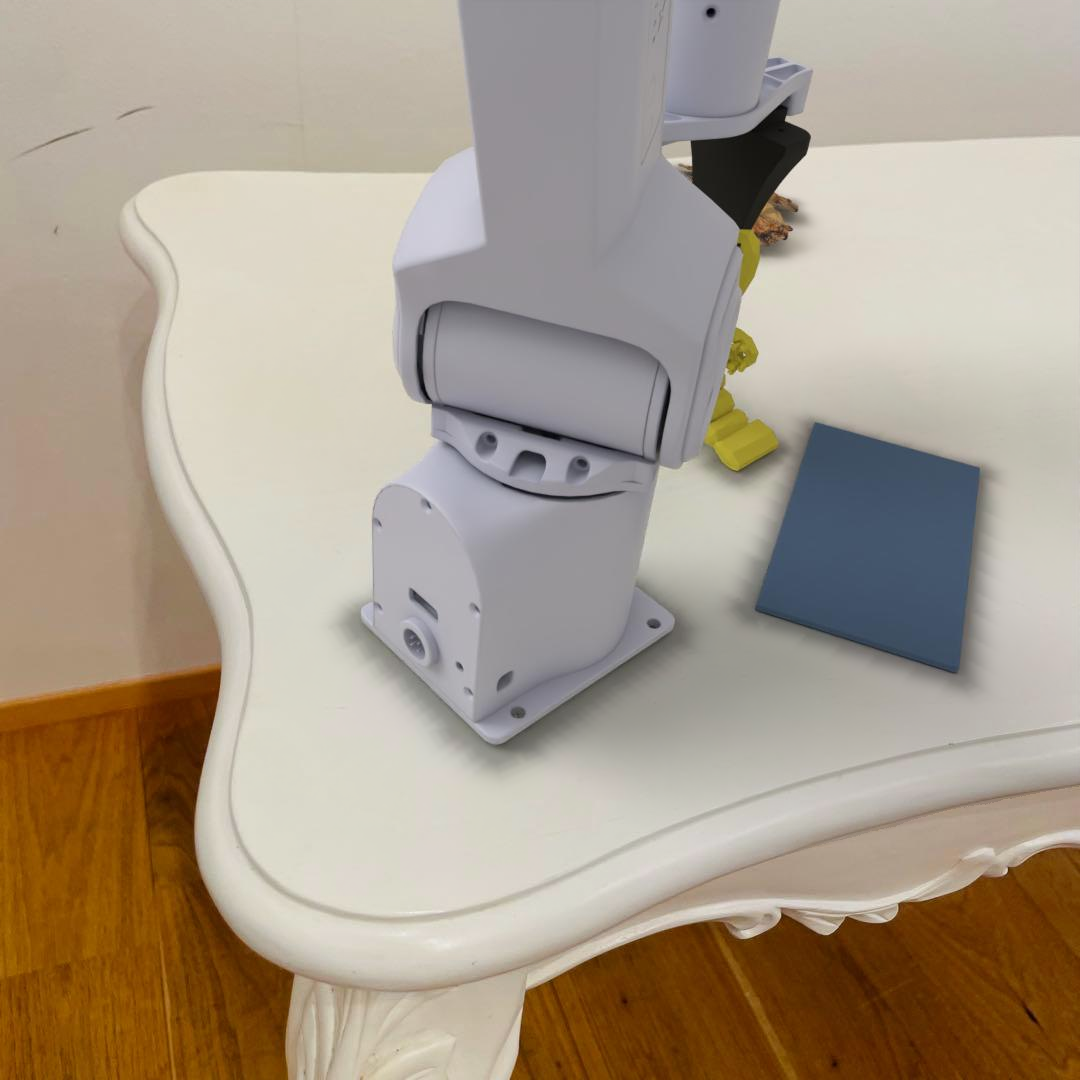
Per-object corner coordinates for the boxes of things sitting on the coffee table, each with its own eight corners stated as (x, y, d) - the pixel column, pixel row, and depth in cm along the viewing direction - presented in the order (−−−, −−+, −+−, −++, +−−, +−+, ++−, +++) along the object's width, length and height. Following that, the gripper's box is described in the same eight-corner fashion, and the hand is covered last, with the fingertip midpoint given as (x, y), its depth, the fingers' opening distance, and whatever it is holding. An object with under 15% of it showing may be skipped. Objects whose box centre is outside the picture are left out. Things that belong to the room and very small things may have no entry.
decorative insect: (625, 495, 57) (551, 312, 55) (667, 472, 59) (597, 294, 57) (819, 455, 46) (735, 228, 45) (863, 428, 48) (783, 209, 47)
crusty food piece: (643, 243, 67) (652, 195, 65) (678, 167, 76) (686, 123, 74) (784, 272, 66) (797, 224, 64) (801, 192, 75) (813, 148, 73)
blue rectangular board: (956, 673, 42) (959, 668, 42) (754, 609, 44) (756, 604, 44) (978, 472, 53) (980, 467, 52) (813, 426, 54) (815, 421, 54)
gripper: (748, -72, 48) (690, 222, 57) (494, -36, 40) (474, 300, 49) (884, -28, 44) (800, 278, 53) (635, 21, 36) (586, 373, 45)
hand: (651, 294), depth 51 cm, fingers open, 7 cm apart
